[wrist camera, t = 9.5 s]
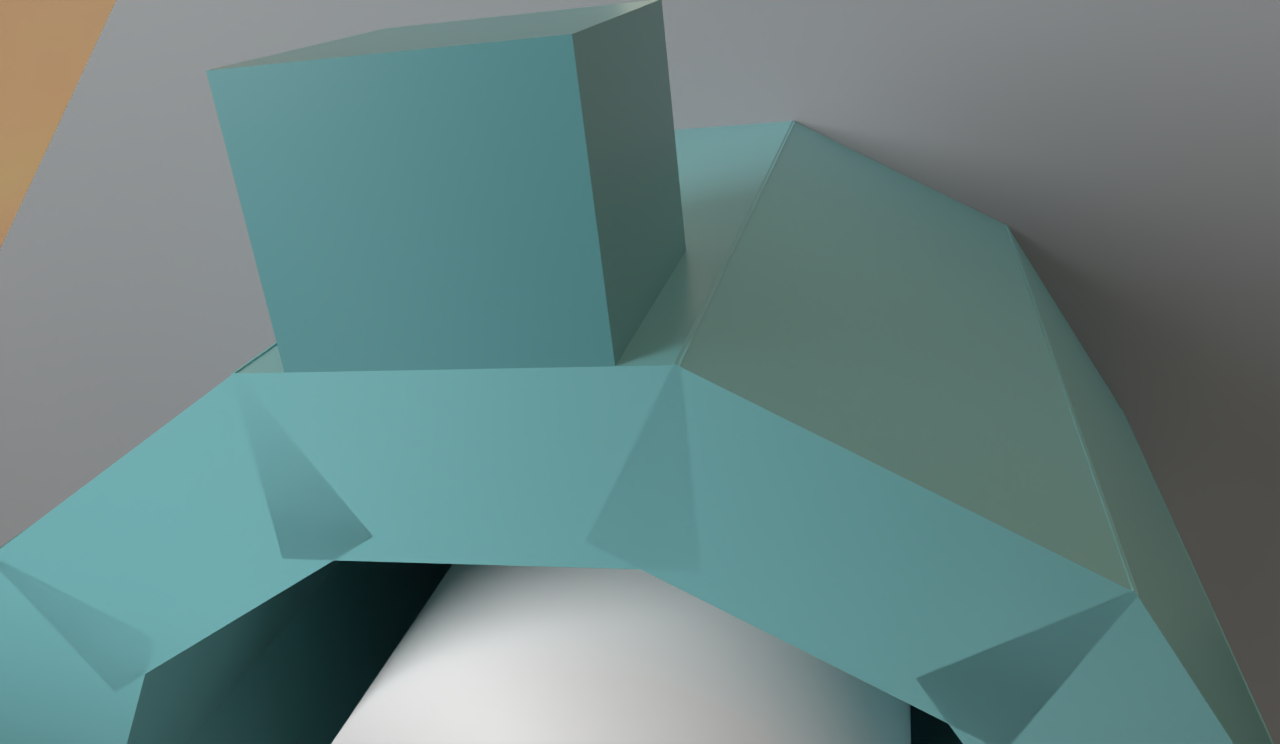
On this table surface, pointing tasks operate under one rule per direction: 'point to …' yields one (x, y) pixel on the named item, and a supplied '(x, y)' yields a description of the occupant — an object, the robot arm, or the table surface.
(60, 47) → the table surface
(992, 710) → the mug with handle
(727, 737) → the flat gray panel
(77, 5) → the table surface
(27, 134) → the table surface
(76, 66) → the table surface
